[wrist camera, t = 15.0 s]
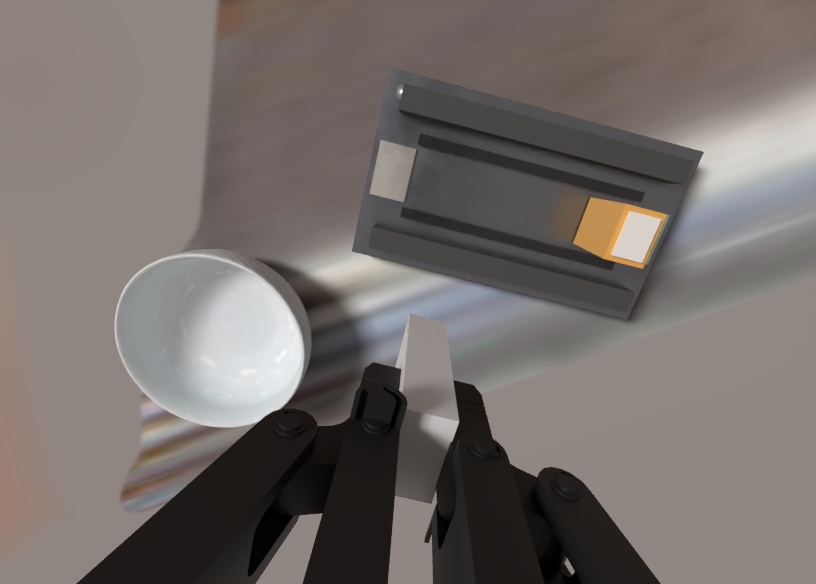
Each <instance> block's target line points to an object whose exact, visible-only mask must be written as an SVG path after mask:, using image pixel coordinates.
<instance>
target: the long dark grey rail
mask: <svg viewBox="0 0 816 584" xmlns="http://www.w3.org/2000/svg"><path fill="white" fill-rule="evenodd" d="M398 109H399V111H400V112H401V113H405V114H409V115H413V116H417V117H420V118H424V119H428V120H432V121H435V122H439V123H443V124H447V125H451V126H454V127H458V128H462V129H466V130H469V131H473V132H477V133H481V134H485V135H488V136H492V137H496V138H500V139H503V140H507V141H511V142H515V143H518V144H522V145H526V146H530V147H534V148H537V149H541V150H545V151H549V152H552V153H556V154H560V155H564V156H568V157H571V158H575V159H579V160H583V161H586V162H590V163H594V164H598V165H602V166H605V167H609V168H613V169H617V170H620V171H624V172H628V173H632V174H636V175H639V176H643V177H647V178H651V179H654V180H658V181H662V182H666V183H669V184H683V185H684V184H685V181H686V179H687V177H688V175H689V172H690V170H691V168H692V166H693V164H694V161H693V160H689V159H685V158H682V157H678V156H674V155H670V154H667V153H663V152H659V151H655V150H652V149H648V148H644V147H640V146H637V145H633V144H629V143H626V142H622V141H618V140H614V139H611V138H607V137H603V136H599V135H596V134H592V133H588V132H585V131H581V130H577V129H573V128H570V127H566V126H562V125H558V124H555V123H551V122H547V121H543V120H540V119H536V118H532V117H529V116H525V115H521V114H517V113H514V112H510V111H506V110H502V109H499V108H495V107H491V106H487V105H484V104H480V103H476V102H473V101H469V100H465V99H461V98H458V97H454V96H450V95H446V94H443V93H439V92H435V91H432V90H428V89H424V88H420V87H417V86H413V85H409V84H405V83H404V85H403V90H402V95H401V99H400V104H399V108H398Z"/></svg>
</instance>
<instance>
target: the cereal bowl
mask: <svg viewBox="0 0 816 584" xmlns="http://www.w3.org/2000/svg"><path fill="white" fill-rule="evenodd" d="M115 338H116V343H117V347H118V351H119V354H120V357H121V359H122V361H123V363H124V365H125V367H126V369H127V371H128V373H129V374H130V376H131V377H132V379H133V380H134V381H135V383H136V384H137V385H138V386H139V387H140V389H141V390H142V391H143V392H144V393H145V394H146V395H147V396H148V397H149V398H150V399H152V400H153V401H154V402H155V403H157V404H158V405H159V406H161V407H162V408H164V409H165V410H167V411H169V412H170V413H172V414H174V415H176V416H178V417H180V418H183V419H186V420H188V421H191V422H194V423H197V424H201V425H205V426H211V427H240V426H245V425H250V424H253V423H256V422H259V421H260V420H261V419H262V418H264V417H265V416H266V415H268V414H269V413H271V412H273V411H276V410H280V409H281V408H282V407H284V406H285V405H286V404H287V403H288V402H289V400H290V399H291V398H292V397H293V395H294V394H295V393H296V391H297V389H298V388H299V386H300V384H301V382H302V380H303V377H304V375H305V374H306V370H307V368H308V364H309V360H310V354H311V345H312V342H311V329H310V323H309V320H308V316H307V313H306V311H305V308H304V307H303V304H302V302H301V301H300V298H299V297H298V295H297V293H295V291H294V289H292V287H291V285H289V283H288V282H286V281H285V279H284V278H283V277H281V275H280V274H278V273H277V272H276V271H274V270H273V269H272V268H271V267H268V266H267V265H266V264H264V263H262V262H260V261H258V260H257V259H254V258H252V257H250V256H247V255H244V254H241V253H237V252H233V251H228V250H220V249H202V250H192V251H187V252H183V253H178V254H175V255H171V256H169V257H164V258H162V259H160V260H158V261H155V262H153V263H151V264H149V265H148V266H146V267H145V268H143V269H142V270H140V271H139V272H138V273H137V274H136V275H135V276H134V277H133V278H132V279H131V280H130V281H129V282H128V284H127V285H126V287H125V289H124V290H123V292H122V294H121V297H120V300H119V302H118V305H117V310H116V315H115Z"/></svg>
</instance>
